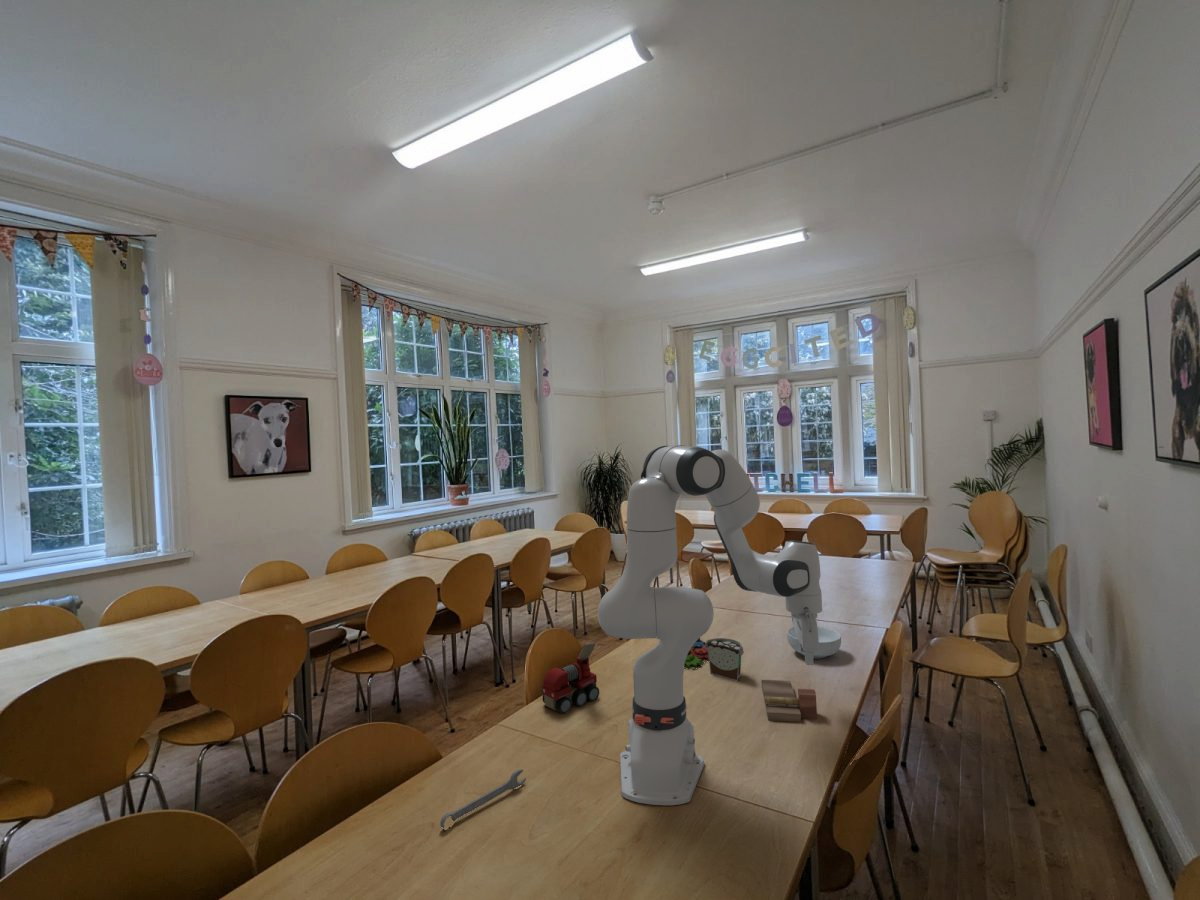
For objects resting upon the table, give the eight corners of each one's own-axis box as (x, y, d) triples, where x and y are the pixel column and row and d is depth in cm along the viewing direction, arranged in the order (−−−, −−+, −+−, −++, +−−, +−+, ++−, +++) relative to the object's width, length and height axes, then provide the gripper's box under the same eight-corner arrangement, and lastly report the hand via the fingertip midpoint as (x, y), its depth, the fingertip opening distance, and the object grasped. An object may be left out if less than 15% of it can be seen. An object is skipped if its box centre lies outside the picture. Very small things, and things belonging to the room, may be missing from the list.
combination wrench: (441, 817, 104) (527, 768, 118) (438, 814, 105) (523, 765, 119) (443, 836, 104) (528, 785, 118) (439, 833, 105) (525, 783, 119)
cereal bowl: (826, 668, 171) (825, 645, 171) (778, 655, 183) (777, 633, 183) (851, 653, 182) (850, 631, 182) (804, 641, 195) (803, 621, 195)
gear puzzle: (679, 683, 166) (678, 669, 166) (636, 670, 177) (636, 658, 177) (728, 651, 190) (728, 639, 190) (688, 642, 200) (688, 631, 200)
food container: (752, 675, 168) (750, 642, 168) (742, 682, 163) (740, 648, 163) (716, 666, 176) (715, 634, 176) (706, 672, 172) (705, 640, 172)
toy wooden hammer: (817, 719, 140) (816, 695, 140) (765, 715, 143) (764, 692, 143) (815, 712, 144) (814, 689, 144) (764, 709, 147) (763, 686, 147)
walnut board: (801, 722, 139) (800, 713, 139) (768, 720, 141) (767, 712, 141) (790, 687, 159) (790, 680, 159) (761, 686, 160) (761, 679, 160)
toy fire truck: (540, 706, 154) (537, 643, 154) (583, 689, 164) (581, 629, 164) (564, 721, 145) (561, 653, 145) (608, 701, 155) (606, 638, 155)
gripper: (823, 614, 131) (827, 673, 131) (810, 594, 151) (813, 645, 151) (795, 613, 133) (799, 672, 132) (786, 594, 153) (789, 645, 152)
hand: (806, 657), depth 142 cm, fingers open, 8 cm apart
